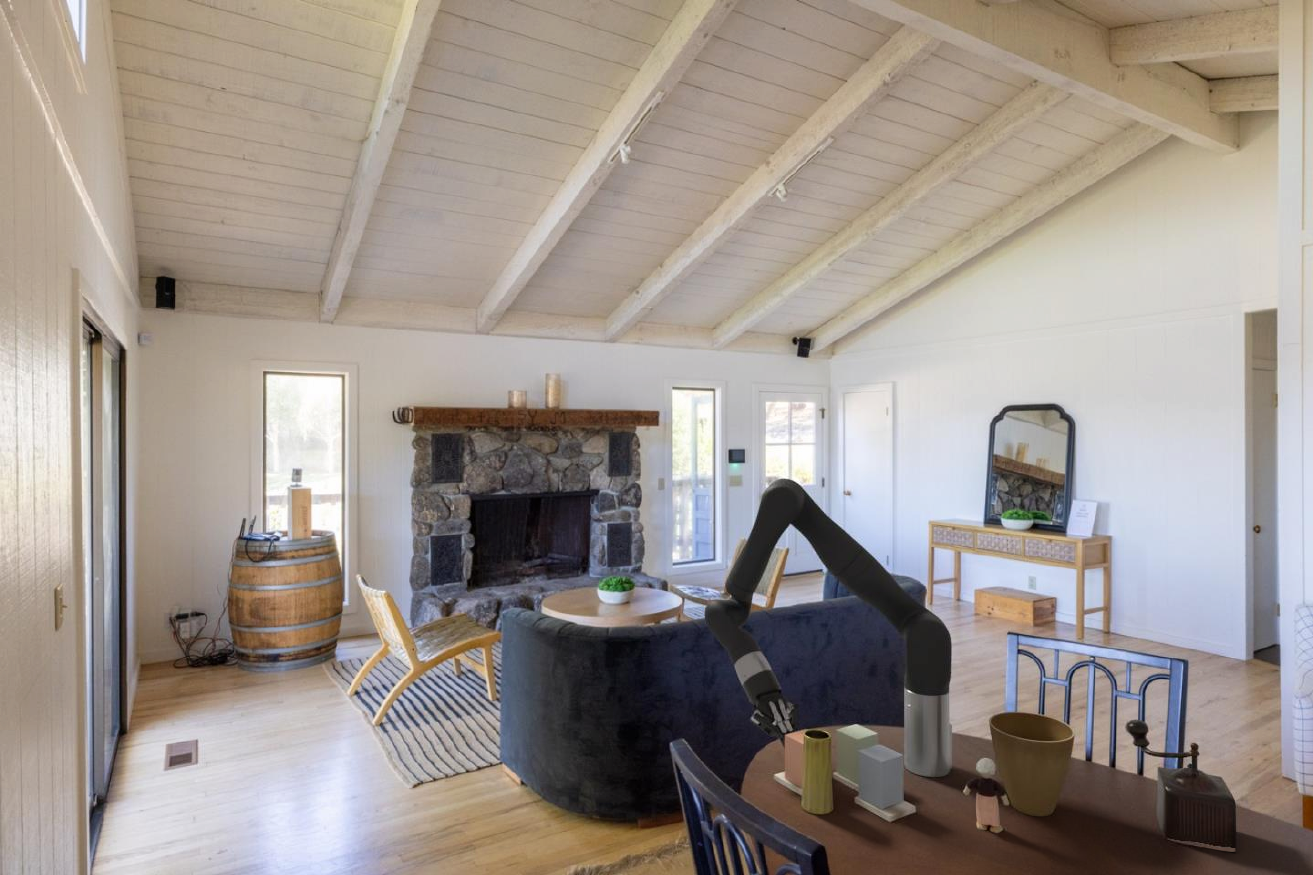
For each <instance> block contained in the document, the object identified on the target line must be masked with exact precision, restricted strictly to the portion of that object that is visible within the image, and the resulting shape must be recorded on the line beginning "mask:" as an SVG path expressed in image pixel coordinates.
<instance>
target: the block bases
mask: <svg viewBox="0 0 1313 875" xmlns="http://www.w3.org/2000/svg"><path fill="white" fill-rule="evenodd" d="M832 779H834V780H836V781H837V782H840V783H842V784H843V785H845V786H847V787H849V788H850V789H852V790H854V789H855V790H854V791H856V792H858V783H856V782H854V781H852V780H850V779H848V778H846V777H844V776H842V775H840V774H838V773H837V772H836V771H835V772H832ZM773 780H774V781H776V782H777V783H779V784H780V785H783V786H784V787H786V788H787V789H789V790H790V791H793V792H795V793H796V794H798V795H799V796H801V797H802V788H801V787H799V786H798V785H796V784H794V783H792V782H791V781H789V780H787V779H785V770H784V771H782V772H778V773H775V774H773ZM854 803H855V804H857V805H859V807H862V808H864V809H866V810H868V811H869V812H871V813H873V814H874V815H877V816H879V817H880V818H881V819H883V820H886V821H887V822H889V823H891V822H893V821H896V820H898V819H901V818H903V817H907V816H909V815H911V814H914V813H916V810H917V808H916V806H915V805H913V804H911V803H910V802H907V801H906V800H904V801H903V802H900V803H897V804H895V805H892V806H889V807H887V808H884V809H881V808H879V807H877V806H875V805H873V804H871V803H870V802H868V801H866V800H864V799H862V798H860V797H858V795H857V796H855V797H854Z"/></svg>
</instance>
